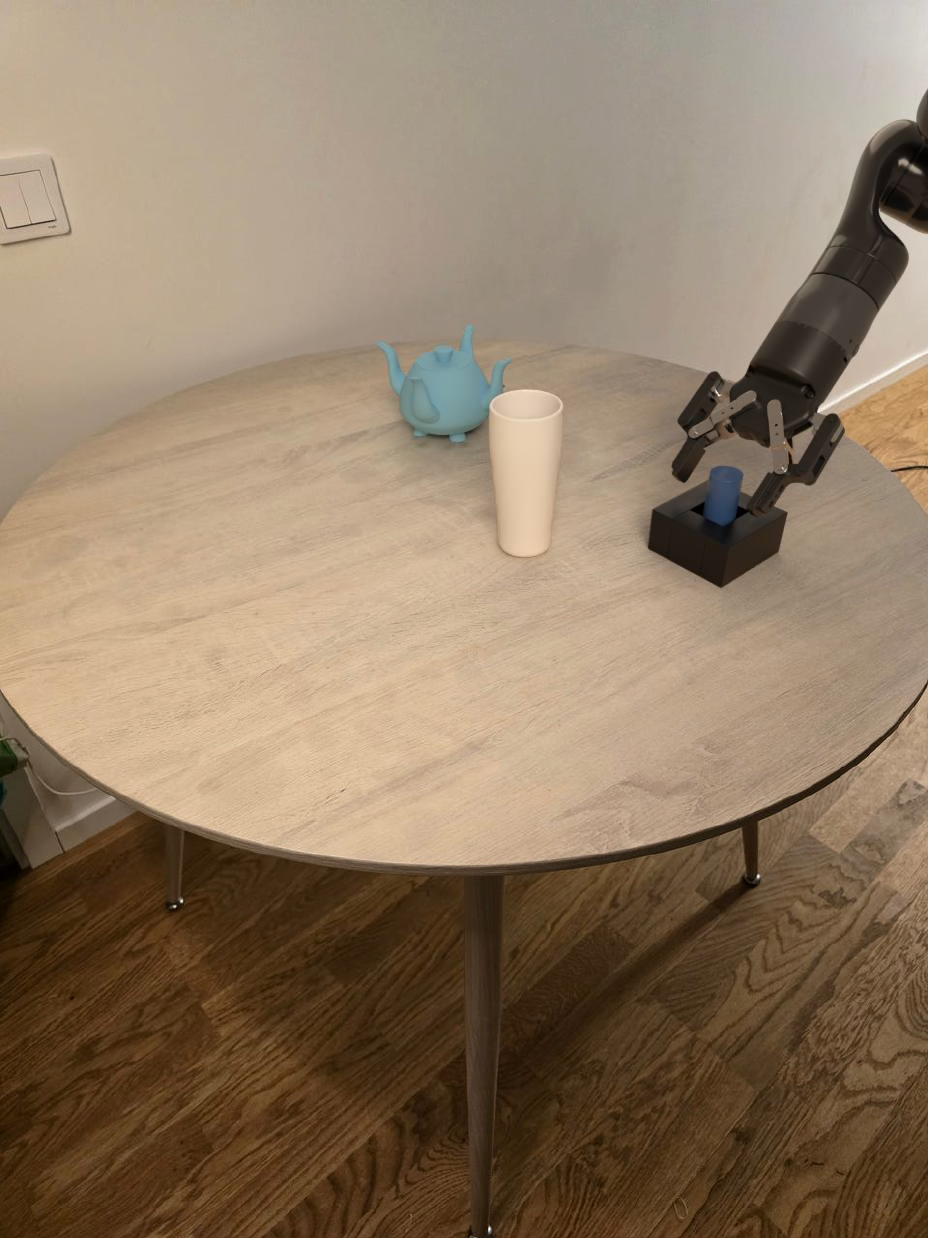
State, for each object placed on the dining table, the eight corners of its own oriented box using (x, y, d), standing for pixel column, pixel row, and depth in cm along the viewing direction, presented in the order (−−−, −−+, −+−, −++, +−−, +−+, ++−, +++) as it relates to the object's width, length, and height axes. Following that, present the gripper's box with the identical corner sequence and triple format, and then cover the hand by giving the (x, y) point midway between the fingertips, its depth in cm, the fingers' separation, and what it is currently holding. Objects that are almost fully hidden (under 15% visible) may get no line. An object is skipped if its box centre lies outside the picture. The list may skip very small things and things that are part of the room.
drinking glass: (523, 572, 82) (525, 428, 73) (476, 544, 86) (472, 404, 77) (572, 545, 86) (580, 403, 76) (524, 519, 90) (526, 382, 81)
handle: (733, 558, 83) (749, 480, 78) (702, 560, 83) (715, 482, 78) (723, 540, 86) (737, 463, 80) (692, 542, 85) (705, 466, 80)
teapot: (414, 460, 101) (407, 377, 95) (380, 415, 111) (372, 337, 104) (514, 438, 104) (515, 357, 98) (474, 396, 114) (472, 320, 108)
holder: (778, 551, 84) (788, 512, 81) (721, 588, 79) (729, 547, 77) (704, 516, 89) (711, 477, 86) (647, 548, 85) (651, 509, 82)
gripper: (734, 299, 79) (638, 452, 81) (878, 340, 71) (767, 511, 72) (758, 341, 85) (668, 483, 87) (894, 384, 76) (791, 540, 78)
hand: (713, 495), depth 80 cm, fingers open, 8 cm apart
